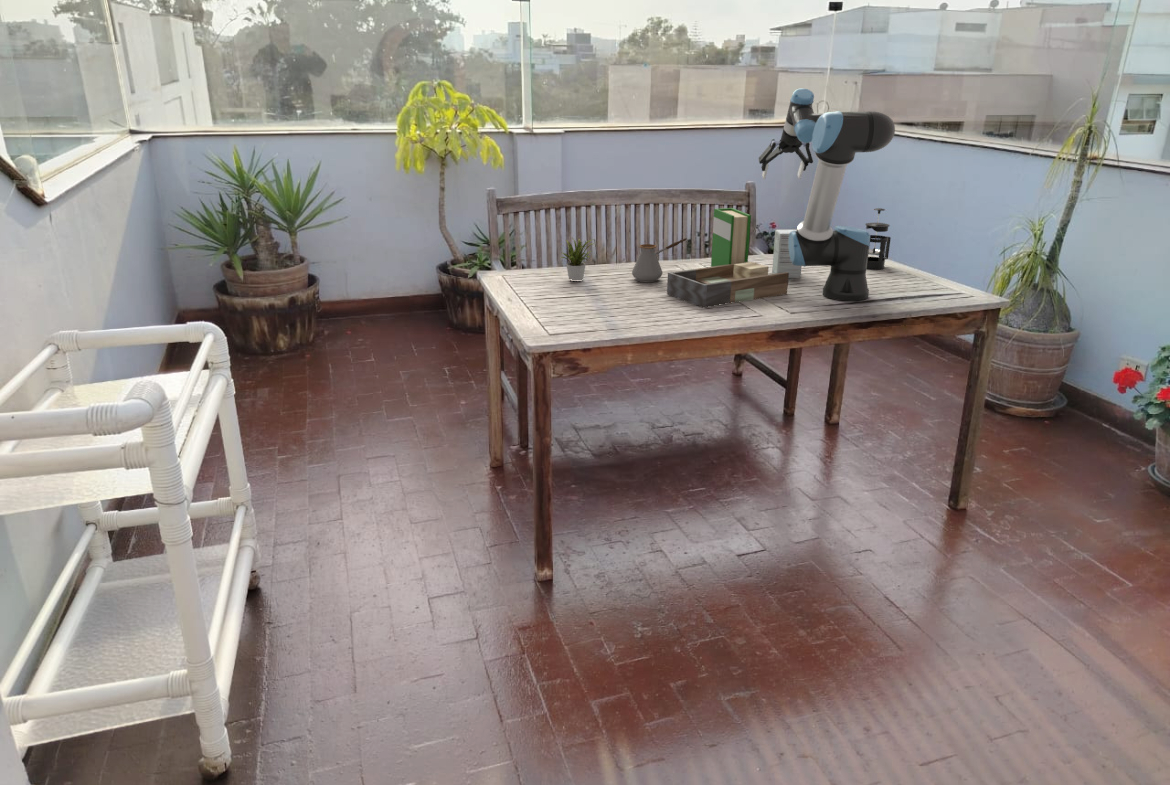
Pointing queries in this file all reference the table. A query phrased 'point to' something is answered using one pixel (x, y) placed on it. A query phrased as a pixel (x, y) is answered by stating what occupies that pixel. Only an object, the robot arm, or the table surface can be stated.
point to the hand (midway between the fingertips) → (781, 176)
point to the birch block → (749, 270)
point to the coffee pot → (649, 263)
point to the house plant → (576, 260)
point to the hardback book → (730, 237)
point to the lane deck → (723, 285)
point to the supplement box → (784, 255)
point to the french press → (879, 262)
